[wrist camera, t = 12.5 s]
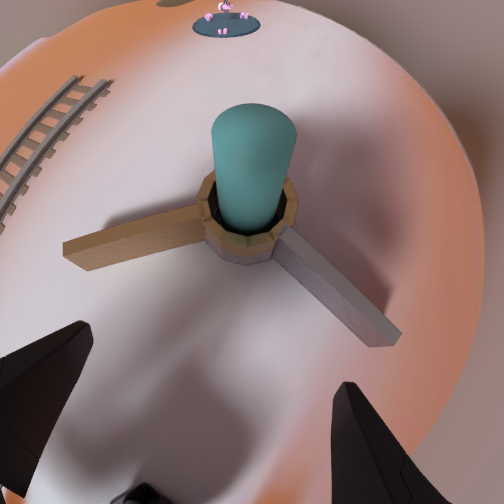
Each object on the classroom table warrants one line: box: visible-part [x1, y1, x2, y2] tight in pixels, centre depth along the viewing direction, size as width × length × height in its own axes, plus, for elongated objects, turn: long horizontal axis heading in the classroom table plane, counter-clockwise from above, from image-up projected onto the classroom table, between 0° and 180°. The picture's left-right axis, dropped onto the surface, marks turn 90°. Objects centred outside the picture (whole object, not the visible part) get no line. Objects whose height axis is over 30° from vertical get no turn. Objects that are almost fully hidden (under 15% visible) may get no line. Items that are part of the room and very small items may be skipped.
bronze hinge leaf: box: [63, 170, 298, 271], centre depth 22 cm, size 17×12×4 cm
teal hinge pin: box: [212, 103, 296, 237], centre depth 20 cm, size 4×4×12 cm
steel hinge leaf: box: [205, 195, 402, 347], centre depth 22 cm, size 7×19×4 cm, turn 46°
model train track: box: [0, 75, 110, 235], centre depth 27 cm, size 11×31×2 cm, turn 154°
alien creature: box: [193, 0, 260, 38], centre depth 35 cm, size 12×12×7 cm
